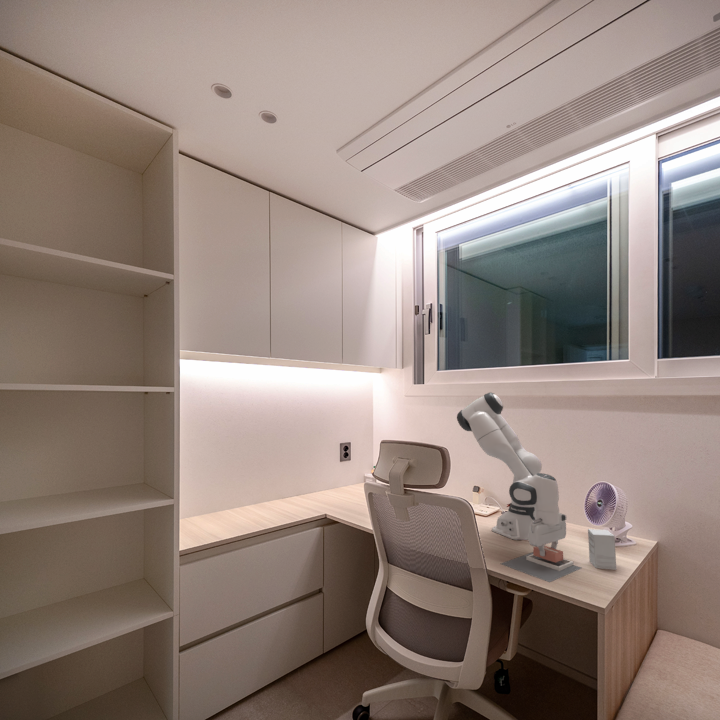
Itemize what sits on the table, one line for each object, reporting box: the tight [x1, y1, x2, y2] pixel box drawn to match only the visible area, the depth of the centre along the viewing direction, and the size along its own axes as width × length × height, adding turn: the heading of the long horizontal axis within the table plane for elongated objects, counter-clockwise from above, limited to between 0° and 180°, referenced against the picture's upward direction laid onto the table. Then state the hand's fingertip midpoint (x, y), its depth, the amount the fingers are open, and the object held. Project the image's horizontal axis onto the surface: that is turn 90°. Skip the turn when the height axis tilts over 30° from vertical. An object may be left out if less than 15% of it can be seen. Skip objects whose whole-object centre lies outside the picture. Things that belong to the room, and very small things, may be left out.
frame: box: [526, 554, 574, 571], centre depth 162 cm, size 13×10×1 cm
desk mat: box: [500, 551, 582, 583], centre depth 159 cm, size 20×22×1 cm
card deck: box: [532, 545, 564, 563], centre depth 162 cm, size 9×6×3 cm, turn 35°
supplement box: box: [587, 528, 617, 571], centre depth 160 cm, size 7×7×13 cm
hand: (548, 553), depth 162 cm, fingers closed on card deck, 5 cm apart
